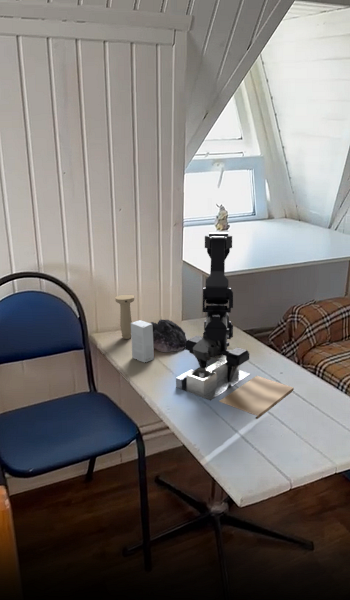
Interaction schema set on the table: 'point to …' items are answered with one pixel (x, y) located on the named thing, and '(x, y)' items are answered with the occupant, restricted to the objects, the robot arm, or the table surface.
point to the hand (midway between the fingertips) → (216, 377)
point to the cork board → (257, 396)
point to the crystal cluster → (168, 336)
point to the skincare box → (142, 341)
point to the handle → (125, 314)
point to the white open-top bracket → (208, 376)
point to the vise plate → (221, 387)
